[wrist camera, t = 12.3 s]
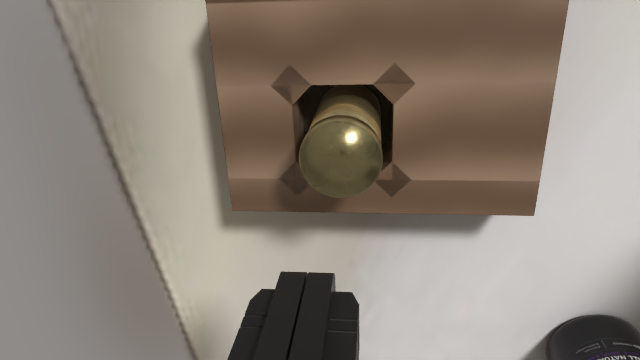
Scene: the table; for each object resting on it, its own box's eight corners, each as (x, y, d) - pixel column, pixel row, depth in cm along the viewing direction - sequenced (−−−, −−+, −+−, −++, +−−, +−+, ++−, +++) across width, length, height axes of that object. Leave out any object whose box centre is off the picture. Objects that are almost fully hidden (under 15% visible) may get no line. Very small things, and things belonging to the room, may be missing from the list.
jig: (226, -17, 28) (201, -14, 24) (546, -30, 26) (576, -29, 22) (248, 183, 33) (231, 212, 29) (515, 186, 31) (535, 218, 27)
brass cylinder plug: (316, 82, 30) (296, 120, 23) (381, 81, 29) (383, 119, 22) (318, 143, 32) (301, 197, 24) (381, 144, 31) (382, 198, 24)
